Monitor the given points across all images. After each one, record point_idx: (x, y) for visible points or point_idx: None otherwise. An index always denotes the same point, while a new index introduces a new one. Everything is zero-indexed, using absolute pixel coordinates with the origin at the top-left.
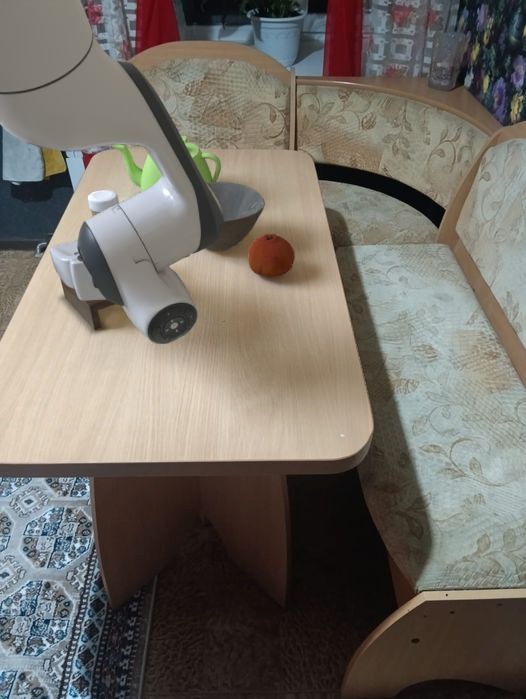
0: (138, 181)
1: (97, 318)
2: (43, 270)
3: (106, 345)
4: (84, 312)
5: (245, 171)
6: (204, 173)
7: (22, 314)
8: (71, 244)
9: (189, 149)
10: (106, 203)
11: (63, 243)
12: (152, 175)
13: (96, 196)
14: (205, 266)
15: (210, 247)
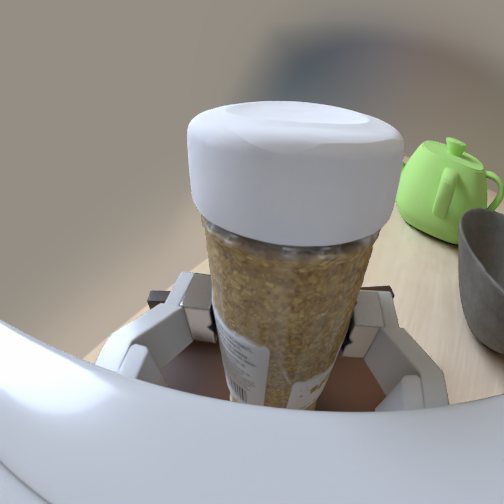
0: None
1: None
2: (198, 268)
3: None
4: None
5: (495, 210)
6: (486, 197)
7: (98, 350)
8: (6, 365)
9: (471, 159)
10: (286, 166)
11: (6, 332)
12: (422, 172)
13: (250, 110)
14: (466, 383)
15: (489, 346)
